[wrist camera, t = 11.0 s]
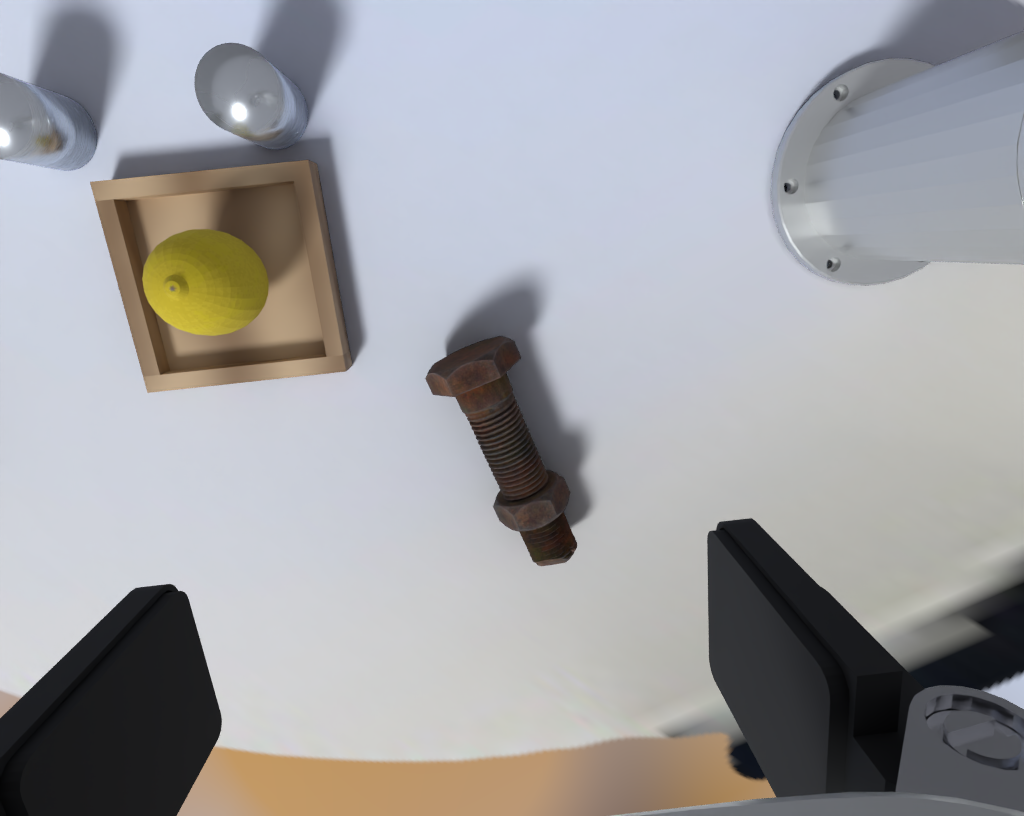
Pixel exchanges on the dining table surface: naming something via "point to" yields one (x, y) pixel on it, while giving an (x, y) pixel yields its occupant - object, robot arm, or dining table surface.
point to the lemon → (205, 282)
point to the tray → (275, 239)
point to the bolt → (508, 446)
